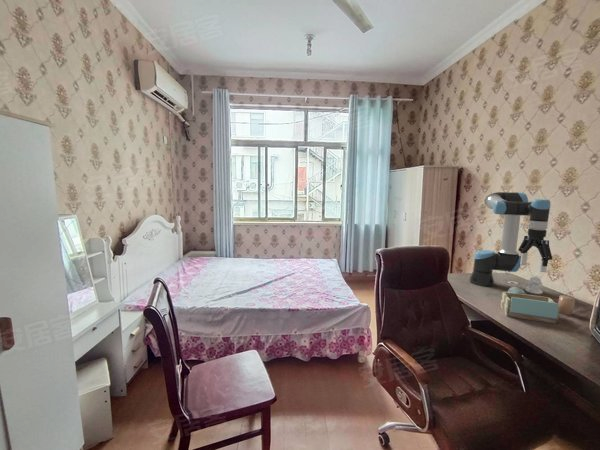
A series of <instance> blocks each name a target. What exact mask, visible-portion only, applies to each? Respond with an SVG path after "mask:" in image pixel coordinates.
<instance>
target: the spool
mask: <svg viewBox="0 0 600 450" xmlns="http://www.w3.org/2000/svg"><path fill="white" fill-rule="evenodd" d="M507 292H511V293H519V294H527V293H526V292H525V290H524V289H522V288H520V287H518V286H512V287H510V288H508V290H507Z"/></svg>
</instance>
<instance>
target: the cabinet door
mask: <svg viewBox="0 0 600 450" xmlns="http://www.w3.org/2000/svg"><path fill="white" fill-rule="evenodd" d="M558 306H559V304H558V302H555V303H553V302H545V301H538V300H530V299H523V298H516V297H511V307H510V313H513V314H520V315H526V316H533V317H539V318H546V319H553V320H557V314H558Z"/></svg>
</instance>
